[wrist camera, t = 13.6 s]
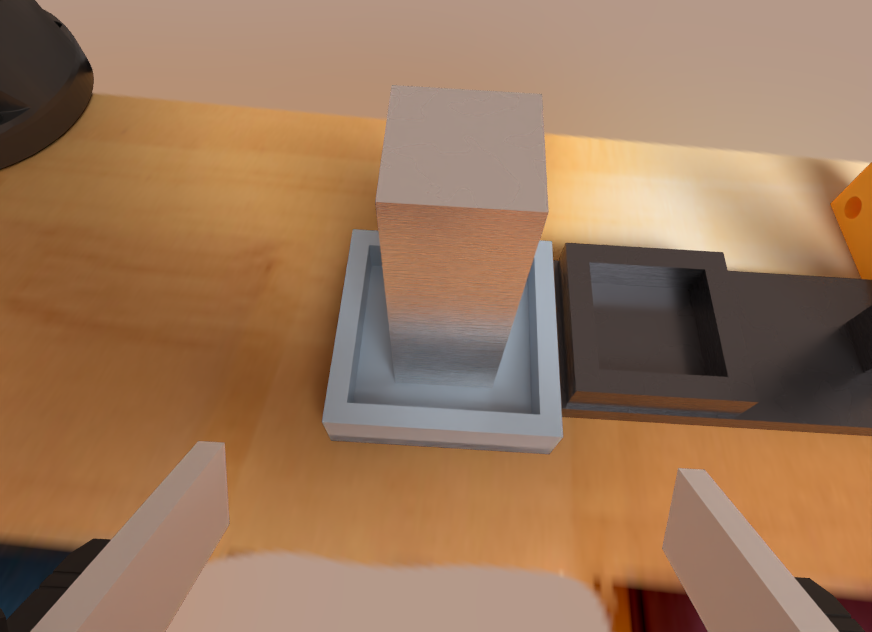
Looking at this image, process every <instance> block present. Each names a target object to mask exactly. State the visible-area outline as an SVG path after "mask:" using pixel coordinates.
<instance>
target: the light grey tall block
mask: <svg viewBox="0 0 872 632" xmlns="http://www.w3.org/2000/svg"><path fill="white" fill-rule="evenodd" d="M375 203H376V213H377V222H378V231H379V240H380V249H381V259H382V268H383V277H384V286H385V295H386V305H387V314H388V323H389V332H390V341H391V351H392V360H393V369H394V378H395V382H396V383H412V384H428V385H444V386H460V387H477V388H493V384H494V381H495V378H496V375H497V372H498V369H499V366H500V362H501V359H502V356H503V353H504V350H505V347H506V344H507V341H508V337H509V334H510V331H511V328H512V325H513V322H514V319H515V316H516V312H517V309H518V306H519V303H520V300H521V297H522V294H523V290H524V287H525V284H526V281H527V278H528V275H529V272H530V269H531V265H532V262H533V259H534V256H535V253H536V250H537V247H538V243H539V240H540V237H541V234H542V231H543V228H544V225H545V222H546V218H547V215H548V195H547V177H546V158H545V140H544V123H543V104H542V94H530V93H513V92H497V91H479V90H464V89H447V88H429V87H413V86H396V85H392V87H391V94H390V101H389V108H388V115H387V122H386V130H385V137H384V144H383V151H382V158H381V165H380V172H379V179H378V187H377V194H376V201H375Z"/></svg>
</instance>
